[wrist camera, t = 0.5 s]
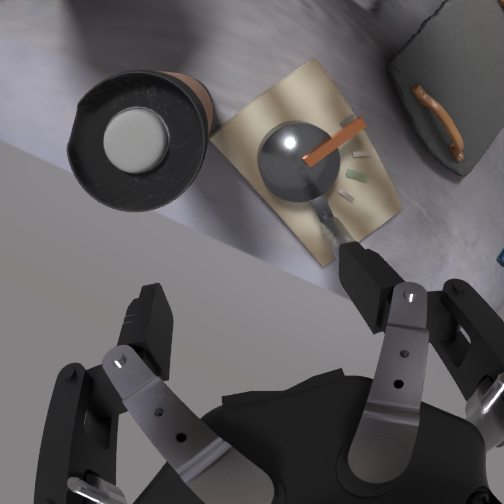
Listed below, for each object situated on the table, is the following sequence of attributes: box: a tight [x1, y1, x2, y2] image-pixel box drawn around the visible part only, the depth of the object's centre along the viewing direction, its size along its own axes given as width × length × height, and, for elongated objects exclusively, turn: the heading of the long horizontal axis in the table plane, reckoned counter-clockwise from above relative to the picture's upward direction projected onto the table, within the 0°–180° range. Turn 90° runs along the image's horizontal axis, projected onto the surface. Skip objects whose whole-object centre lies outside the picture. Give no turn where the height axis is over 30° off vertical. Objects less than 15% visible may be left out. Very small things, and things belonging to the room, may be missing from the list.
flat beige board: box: [209, 59, 404, 267], centre depth 34 cm, size 15×24×2 cm, turn 39°
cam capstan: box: [257, 117, 367, 262], centre depth 25 cm, size 13×15×17 cm
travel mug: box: [67, 70, 213, 212], centre depth 20 cm, size 8×8×20 cm
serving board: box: [387, 0, 504, 176], centre depth 23 cm, size 39×23×6 cm, turn 142°
